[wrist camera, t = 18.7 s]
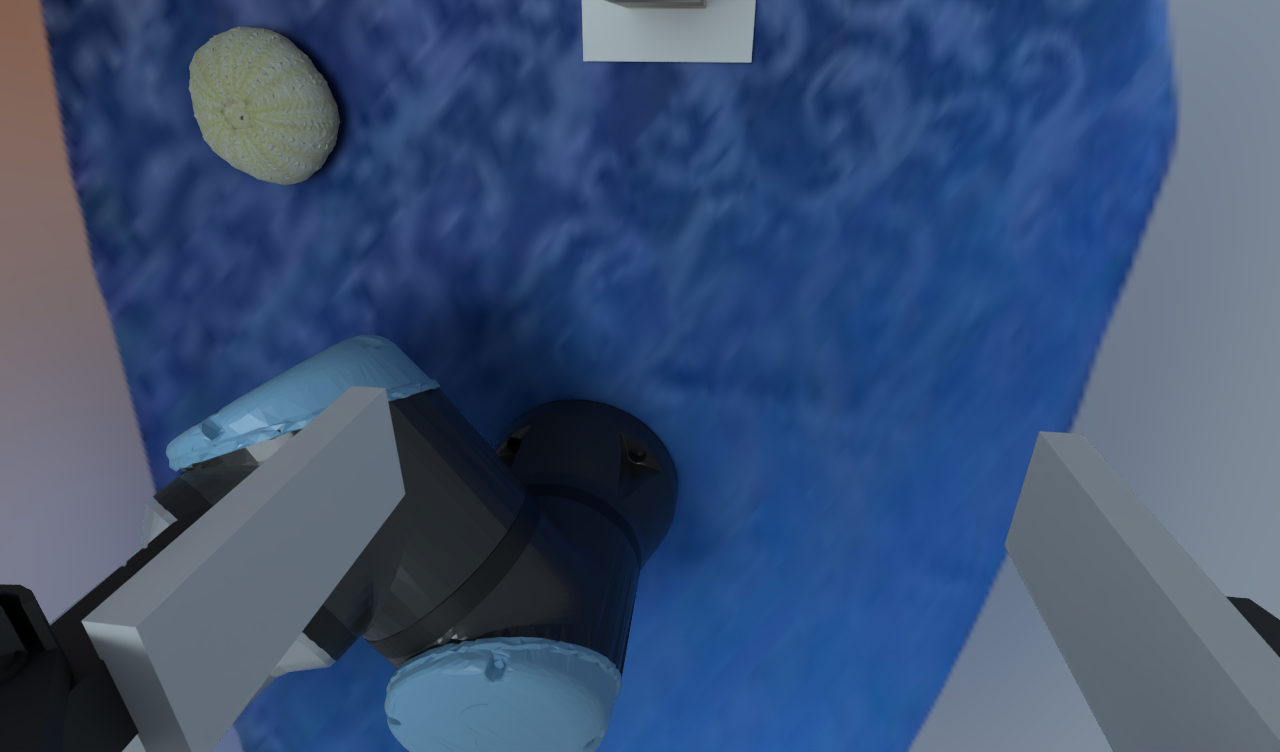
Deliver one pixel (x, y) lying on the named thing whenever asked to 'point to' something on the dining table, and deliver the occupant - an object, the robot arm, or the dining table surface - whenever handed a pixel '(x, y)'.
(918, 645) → the dining table surface
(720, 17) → the mat
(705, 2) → the beige rectangular block
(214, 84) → the sea urchin shell
